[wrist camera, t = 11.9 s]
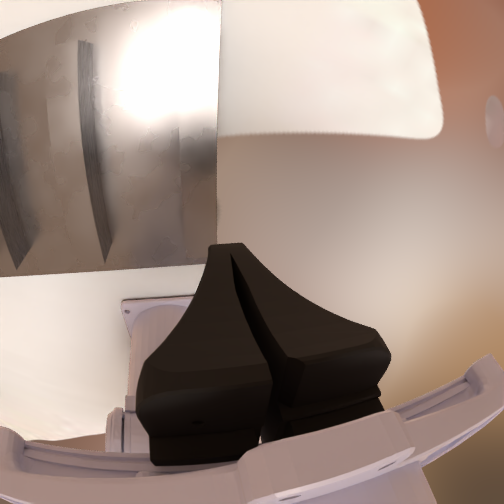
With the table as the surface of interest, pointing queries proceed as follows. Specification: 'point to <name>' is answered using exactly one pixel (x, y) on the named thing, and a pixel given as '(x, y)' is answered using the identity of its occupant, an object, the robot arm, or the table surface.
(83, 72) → the rack
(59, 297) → the table surface
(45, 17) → the table surface
